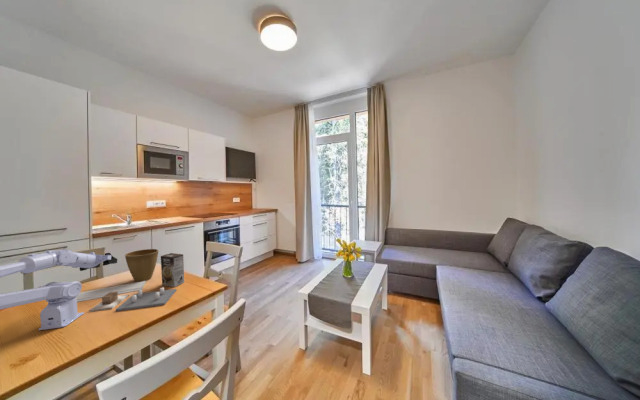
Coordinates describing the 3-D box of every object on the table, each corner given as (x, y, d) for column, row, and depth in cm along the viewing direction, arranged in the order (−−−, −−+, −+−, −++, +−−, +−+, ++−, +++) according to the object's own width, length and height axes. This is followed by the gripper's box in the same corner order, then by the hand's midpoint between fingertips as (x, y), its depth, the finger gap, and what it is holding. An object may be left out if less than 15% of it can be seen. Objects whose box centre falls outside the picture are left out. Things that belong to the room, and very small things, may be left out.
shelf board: (111, 310, 95) (111, 299, 94) (89, 312, 93) (88, 302, 92) (128, 296, 106) (128, 287, 106) (109, 299, 104) (108, 289, 104)
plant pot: (147, 284, 119) (146, 255, 118) (119, 285, 118) (117, 256, 117) (165, 273, 133) (164, 248, 133) (140, 274, 133) (138, 248, 132)
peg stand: (164, 304, 97) (164, 296, 97) (116, 311, 92) (115, 302, 92) (176, 290, 111) (176, 283, 110) (134, 295, 106) (134, 287, 106)
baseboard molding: (141, 292, 111) (146, 283, 122) (141, 286, 111) (146, 278, 121) (52, 309, 96) (66, 297, 106) (51, 303, 96) (66, 291, 106)
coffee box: (161, 285, 117) (159, 256, 116) (172, 280, 123) (171, 252, 122) (174, 287, 115) (172, 257, 114) (185, 282, 121) (183, 253, 120)
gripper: (99, 246, 95) (124, 251, 108) (62, 255, 93) (92, 258, 106) (98, 262, 93) (123, 265, 105) (60, 271, 91) (90, 273, 103)
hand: (107, 263), depth 105 cm, fingers open, 7 cm apart
